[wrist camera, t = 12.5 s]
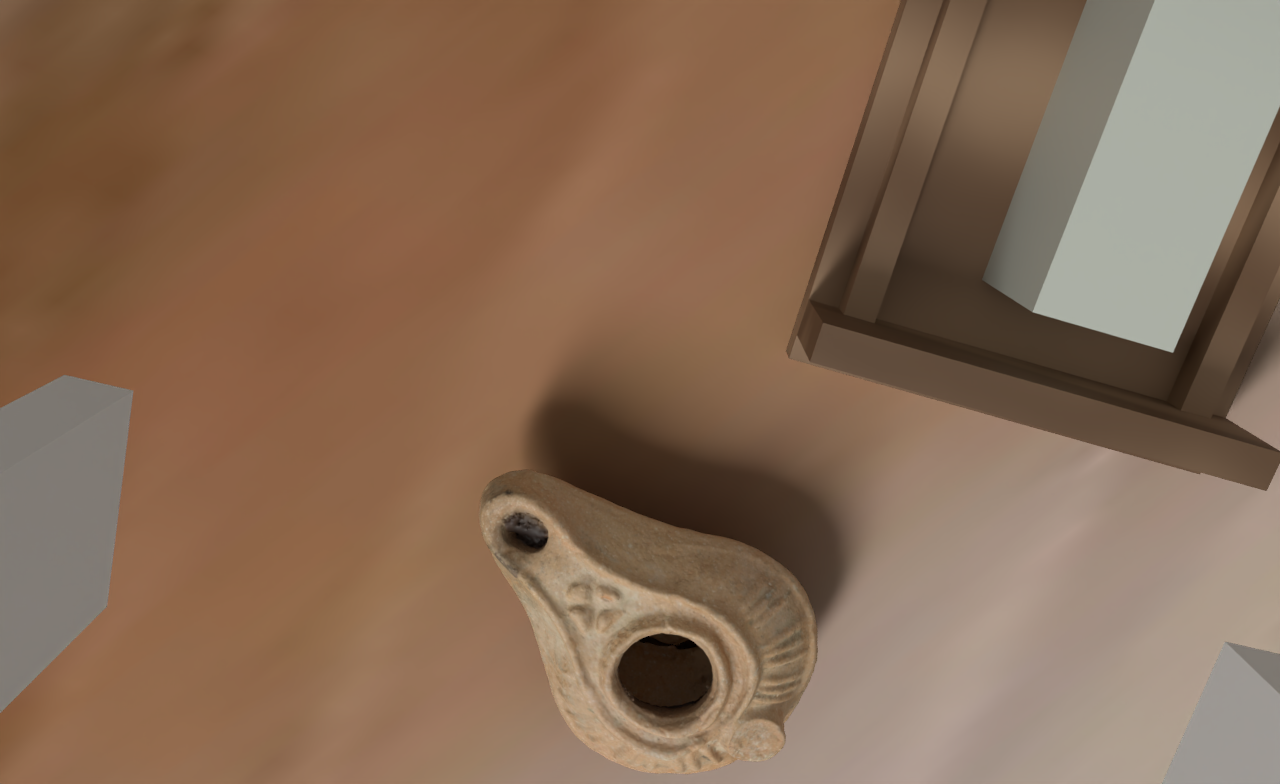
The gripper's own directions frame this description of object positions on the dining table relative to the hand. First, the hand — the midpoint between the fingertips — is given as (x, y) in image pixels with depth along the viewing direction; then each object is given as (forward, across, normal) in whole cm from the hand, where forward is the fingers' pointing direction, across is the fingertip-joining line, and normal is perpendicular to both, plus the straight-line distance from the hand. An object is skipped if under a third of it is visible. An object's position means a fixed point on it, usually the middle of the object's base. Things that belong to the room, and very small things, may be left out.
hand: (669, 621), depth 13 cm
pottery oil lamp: (+24, +2, -10) cm, 26 cm away
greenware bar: (+22, +12, +10) cm, 27 cm away
